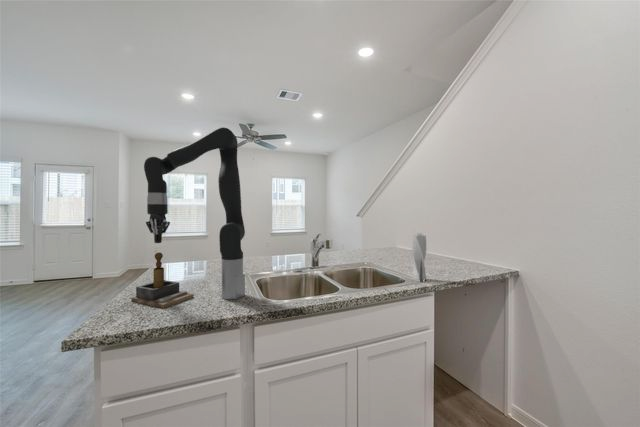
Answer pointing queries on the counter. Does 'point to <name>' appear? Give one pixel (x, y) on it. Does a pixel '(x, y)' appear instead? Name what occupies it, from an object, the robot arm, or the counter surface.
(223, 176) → the robot arm
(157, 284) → the brown wooden chess pawn
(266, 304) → the counter surface
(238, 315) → the counter surface
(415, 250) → the skyscraper
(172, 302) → the socket board
